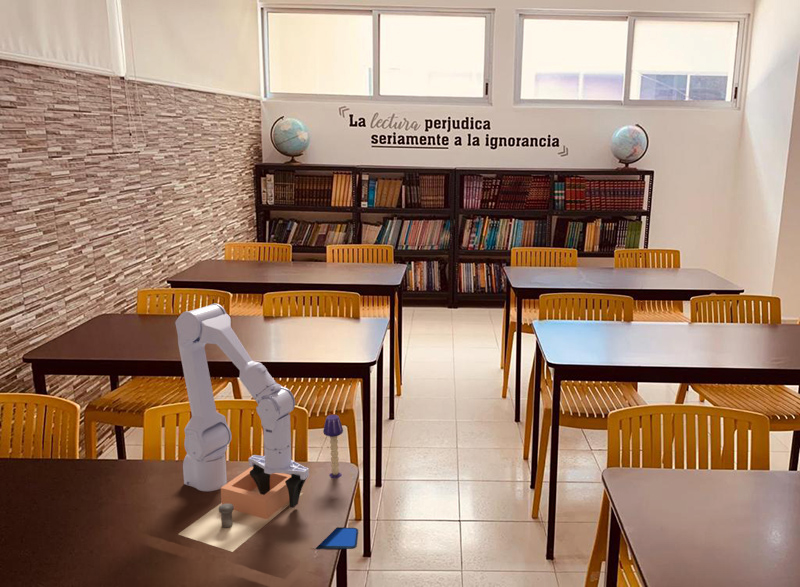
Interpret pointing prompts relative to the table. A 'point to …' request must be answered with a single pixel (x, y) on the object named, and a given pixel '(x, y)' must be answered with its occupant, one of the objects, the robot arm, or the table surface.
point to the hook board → (227, 535)
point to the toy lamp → (333, 441)
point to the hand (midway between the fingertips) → (279, 501)
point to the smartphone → (340, 539)
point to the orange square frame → (256, 494)
